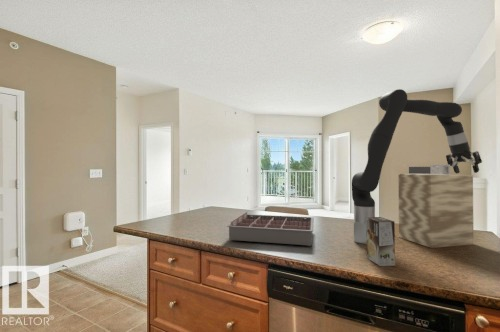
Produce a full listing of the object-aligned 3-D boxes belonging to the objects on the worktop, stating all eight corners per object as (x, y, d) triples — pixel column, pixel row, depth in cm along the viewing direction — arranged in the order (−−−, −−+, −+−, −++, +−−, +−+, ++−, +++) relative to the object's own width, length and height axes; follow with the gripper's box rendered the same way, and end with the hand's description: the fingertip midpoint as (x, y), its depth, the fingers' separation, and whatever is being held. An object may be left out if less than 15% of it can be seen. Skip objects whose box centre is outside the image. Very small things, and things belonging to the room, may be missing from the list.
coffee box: (396, 265, 91) (395, 221, 91) (379, 266, 90) (379, 221, 91) (380, 257, 100) (380, 216, 100) (365, 257, 100) (365, 216, 100)
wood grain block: (473, 244, 117) (472, 174, 117) (431, 247, 111) (430, 174, 112) (436, 234, 134) (436, 173, 135) (398, 237, 129) (398, 173, 129)
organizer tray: (313, 249, 110) (313, 226, 110) (226, 243, 120) (226, 222, 120) (313, 231, 141) (313, 213, 141) (244, 227, 151) (244, 211, 151)
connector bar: (450, 174, 123) (450, 164, 123) (441, 174, 122) (441, 164, 122) (414, 173, 142) (414, 165, 142) (407, 174, 141) (407, 165, 141)
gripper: (438, 146, 134) (447, 175, 134) (468, 142, 120) (478, 174, 121) (448, 142, 136) (456, 171, 136) (478, 138, 122) (488, 169, 123)
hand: (466, 172), depth 128 cm, fingers open, 8 cm apart
